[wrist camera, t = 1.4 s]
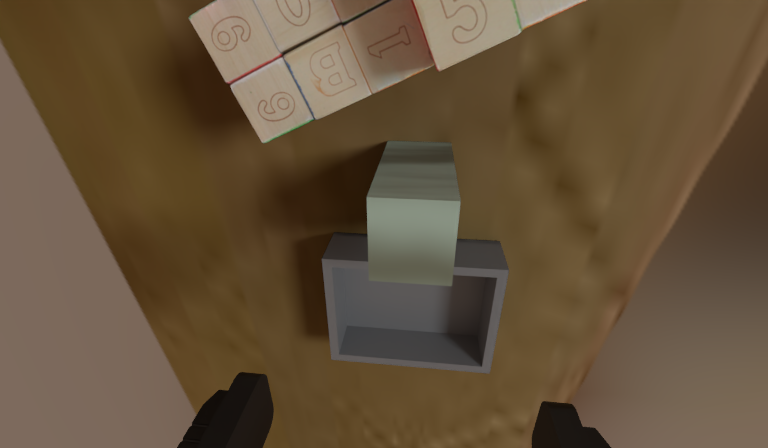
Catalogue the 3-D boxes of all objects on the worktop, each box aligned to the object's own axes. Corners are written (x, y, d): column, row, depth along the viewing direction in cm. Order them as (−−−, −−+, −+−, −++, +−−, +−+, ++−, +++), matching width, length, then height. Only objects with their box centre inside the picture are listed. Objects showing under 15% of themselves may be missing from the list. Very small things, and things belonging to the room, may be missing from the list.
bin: (334, 232, 31) (321, 258, 27) (499, 241, 30) (508, 270, 26) (341, 326, 36) (331, 359, 32) (483, 338, 35) (489, 373, 31)
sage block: (387, 140, 27) (366, 197, 18) (450, 142, 26) (460, 201, 18) (387, 203, 29) (368, 280, 20) (445, 206, 29) (451, 286, 20)
